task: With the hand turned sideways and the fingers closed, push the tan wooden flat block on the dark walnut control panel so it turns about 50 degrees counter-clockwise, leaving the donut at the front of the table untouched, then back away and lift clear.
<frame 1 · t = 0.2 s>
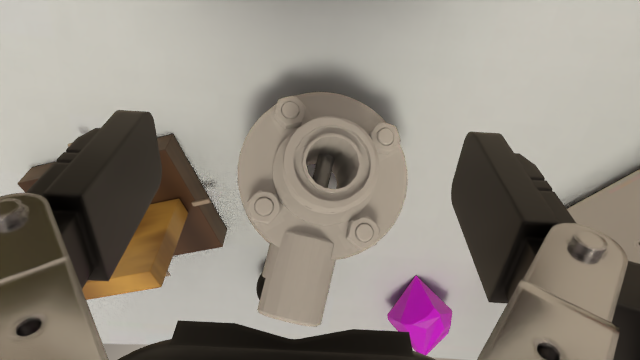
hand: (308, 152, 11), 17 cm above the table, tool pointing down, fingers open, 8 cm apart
panel: (134, 200, 36), on the table
radio: (617, 205, 36), on the table
tan wooden flat block: (107, 252, 31), point 6 cm above the table, hinge at 0.0°
valve: (307, 197, 36), on the table
crystal: (415, 295, 43), on the table
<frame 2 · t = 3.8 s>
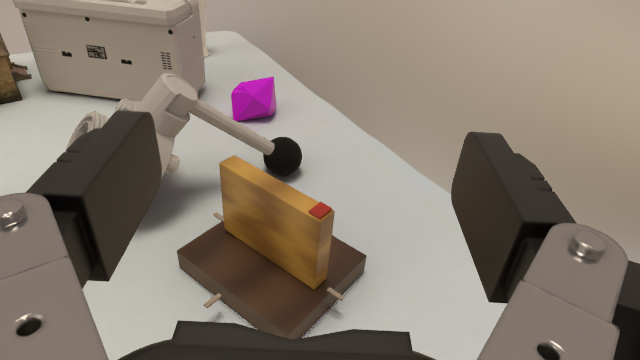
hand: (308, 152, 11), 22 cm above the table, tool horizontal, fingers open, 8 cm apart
panel: (272, 269, 38), on the table
perfume bottle: (196, 55, 74), on the table
radio: (126, 92, 62), on the table
tan wooden flat block: (273, 220, 34), point 6 cm above the table, hinge at 0.0°
valve: (199, 186, 46), on the table
crystal: (253, 116, 59), on the table
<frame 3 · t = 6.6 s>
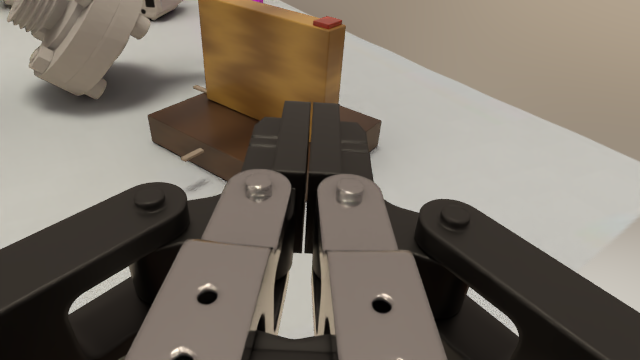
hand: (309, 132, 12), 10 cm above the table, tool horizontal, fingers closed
panel: (267, 143, 31), on the table
radio: (95, 9, 55), on the table
tan wooden flat block: (267, 64, 27), point 6 cm above the table, hinge at 0.0°
valve: (177, 78, 39), on the table
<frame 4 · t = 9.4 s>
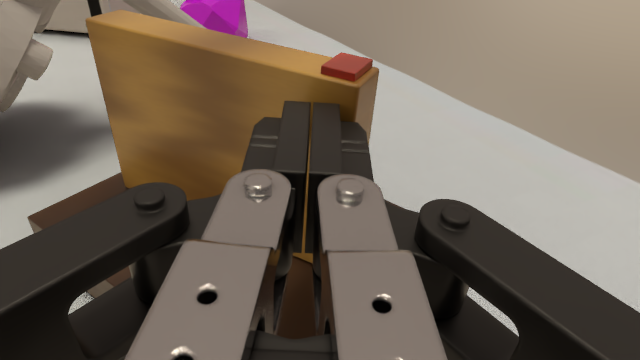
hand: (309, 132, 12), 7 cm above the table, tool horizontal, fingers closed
panel: (235, 252, 19), on the table
radio: (32, 23, 43), on the table
tan wooden flat block: (226, 136, 16), point 6 cm above the table, hinge at 9.1°, touching gripper
valve: (115, 126, 27), on the table
crystal: (215, 46, 41), on the table
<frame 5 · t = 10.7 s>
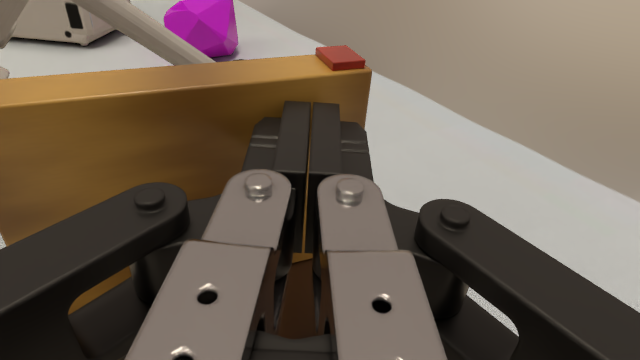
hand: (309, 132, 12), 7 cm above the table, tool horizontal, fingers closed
panel: (213, 305, 16), on the table
radio: (8, 30, 40), on the table
tan wooden flat block: (199, 182, 13), point 6 cm above the table, hinge at 57.5°
valve: (88, 149, 25), on the table
crystal: (203, 56, 38), on the table
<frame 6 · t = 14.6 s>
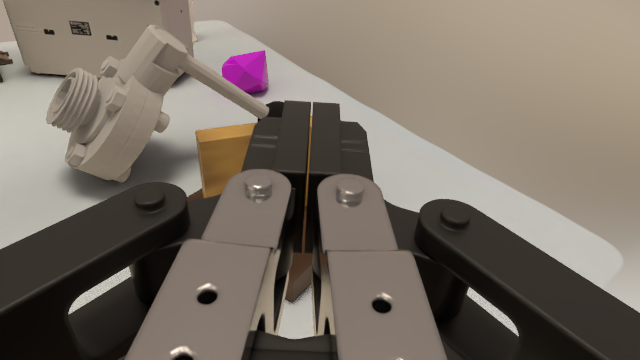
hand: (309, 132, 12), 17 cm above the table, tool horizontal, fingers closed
panel: (272, 226, 35), on the table
perfume bottle: (184, 41, 73), on the table
radio: (112, 73, 60), on the table
tan wooden flat block: (272, 167, 32), point 6 cm above the table, hinge at 57.5°
valve: (191, 154, 44), on the table
crystal: (245, 91, 57), on the table
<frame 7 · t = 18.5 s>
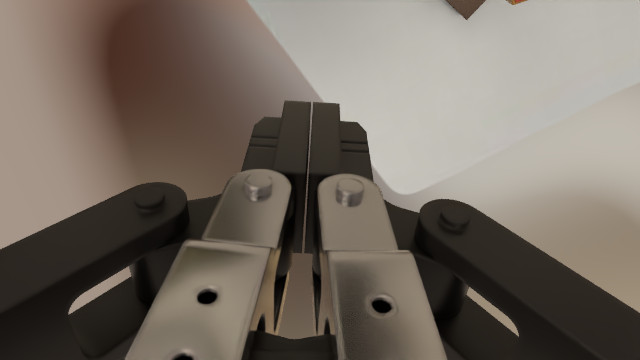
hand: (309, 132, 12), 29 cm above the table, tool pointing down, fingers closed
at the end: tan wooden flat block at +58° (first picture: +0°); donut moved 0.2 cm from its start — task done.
